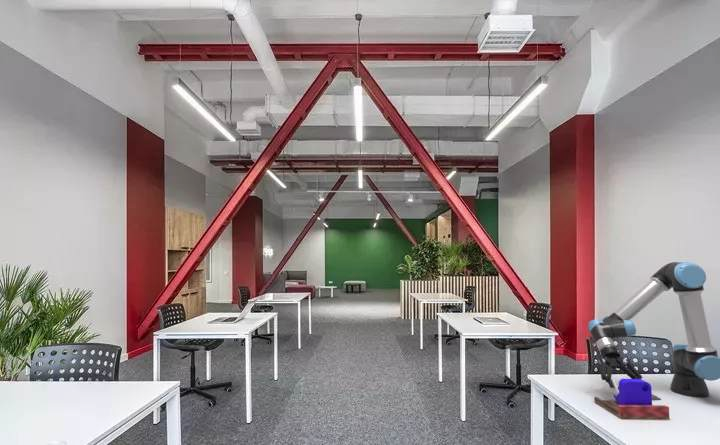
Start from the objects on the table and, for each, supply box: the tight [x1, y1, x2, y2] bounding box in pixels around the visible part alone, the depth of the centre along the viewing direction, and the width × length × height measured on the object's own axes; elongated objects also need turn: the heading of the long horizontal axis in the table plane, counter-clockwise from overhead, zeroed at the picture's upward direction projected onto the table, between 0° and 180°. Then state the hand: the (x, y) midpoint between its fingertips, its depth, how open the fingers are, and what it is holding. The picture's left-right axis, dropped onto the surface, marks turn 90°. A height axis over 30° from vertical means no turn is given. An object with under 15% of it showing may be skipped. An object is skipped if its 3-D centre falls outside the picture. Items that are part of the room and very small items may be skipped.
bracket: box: [613, 378, 653, 405], centre depth 189 cm, size 18×11×12 cm, turn 175°
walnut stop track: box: [593, 396, 670, 421], centre depth 186 cm, size 20×20×5 cm
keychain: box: [652, 394, 662, 401], centre depth 209 cm, size 8×19×2 cm, turn 10°
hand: (630, 394), depth 186 cm, fingers closed on bracket, 10 cm apart
